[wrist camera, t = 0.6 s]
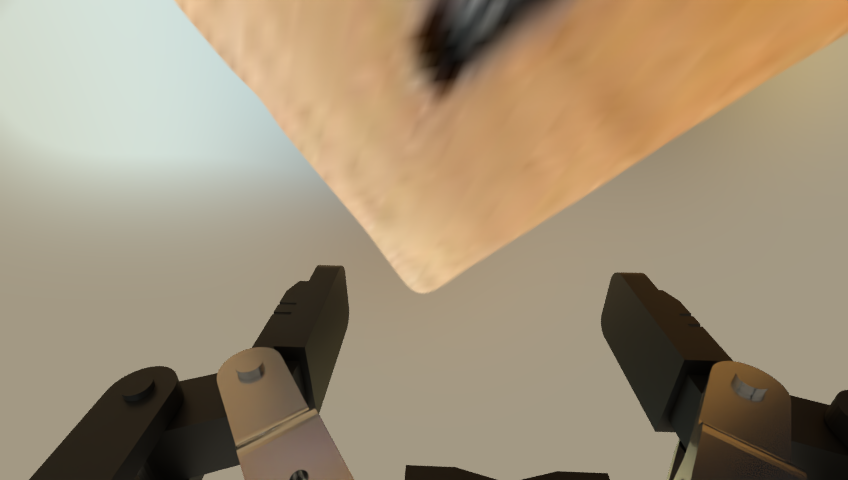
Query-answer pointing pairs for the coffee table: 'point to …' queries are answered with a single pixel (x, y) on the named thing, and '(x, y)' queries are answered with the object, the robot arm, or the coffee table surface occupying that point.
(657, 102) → the coffee table surface
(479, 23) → the coffee table surface
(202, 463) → the robot arm
